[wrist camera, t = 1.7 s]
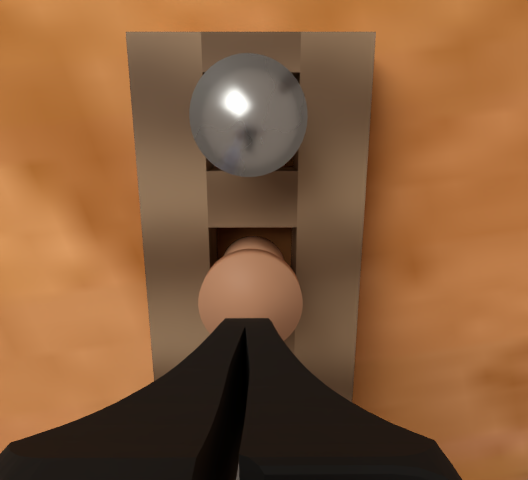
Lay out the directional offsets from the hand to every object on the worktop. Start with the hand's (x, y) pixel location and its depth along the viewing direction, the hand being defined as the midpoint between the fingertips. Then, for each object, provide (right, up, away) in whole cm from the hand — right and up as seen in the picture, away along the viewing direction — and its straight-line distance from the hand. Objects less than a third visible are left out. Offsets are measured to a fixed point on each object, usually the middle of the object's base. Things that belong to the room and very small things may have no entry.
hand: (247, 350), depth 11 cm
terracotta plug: (0, +2, +7) cm, 8 cm away
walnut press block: (0, +3, +10) cm, 10 cm away
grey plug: (0, +8, +6) cm, 10 cm away
